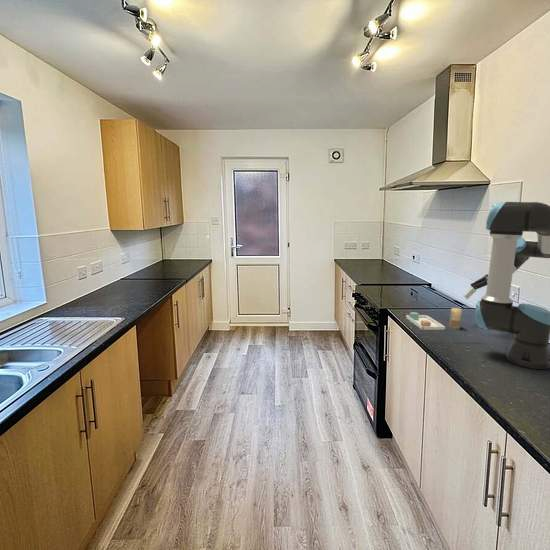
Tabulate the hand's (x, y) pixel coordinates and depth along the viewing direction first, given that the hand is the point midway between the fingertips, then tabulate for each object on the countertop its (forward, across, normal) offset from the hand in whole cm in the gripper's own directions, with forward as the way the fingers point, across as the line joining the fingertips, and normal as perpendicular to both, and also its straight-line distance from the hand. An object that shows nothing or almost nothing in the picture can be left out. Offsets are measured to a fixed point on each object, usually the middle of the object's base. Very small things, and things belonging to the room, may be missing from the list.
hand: (473, 301), depth 190 cm
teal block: (+26, +15, +7) cm, 31 cm away
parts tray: (+26, +8, +5) cm, 27 cm away
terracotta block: (+27, 0, +8) cm, 29 cm away
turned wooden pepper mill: (+17, 0, -4) cm, 18 cm away
